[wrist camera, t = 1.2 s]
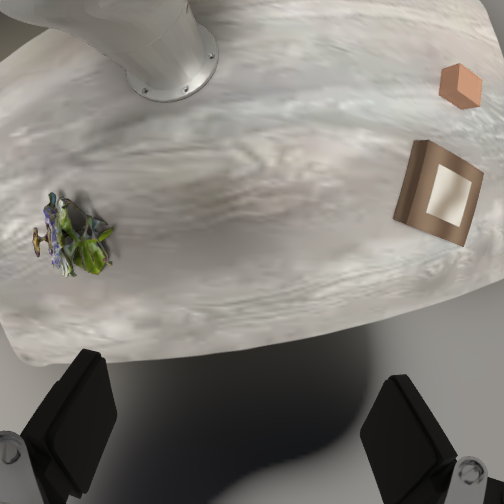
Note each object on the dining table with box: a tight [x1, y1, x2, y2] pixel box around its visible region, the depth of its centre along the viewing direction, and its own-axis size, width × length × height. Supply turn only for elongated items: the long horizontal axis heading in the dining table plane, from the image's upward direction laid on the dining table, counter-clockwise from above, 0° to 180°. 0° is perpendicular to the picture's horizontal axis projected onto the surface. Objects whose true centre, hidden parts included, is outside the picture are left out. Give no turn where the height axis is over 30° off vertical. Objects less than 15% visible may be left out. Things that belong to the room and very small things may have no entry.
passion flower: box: [32, 192, 113, 277], centre depth 35 cm, size 11×11×12 cm
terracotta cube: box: [439, 63, 482, 109], centre depth 31 cm, size 5×5×5 cm
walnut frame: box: [393, 140, 484, 247], centre depth 36 cm, size 12×12×4 cm
